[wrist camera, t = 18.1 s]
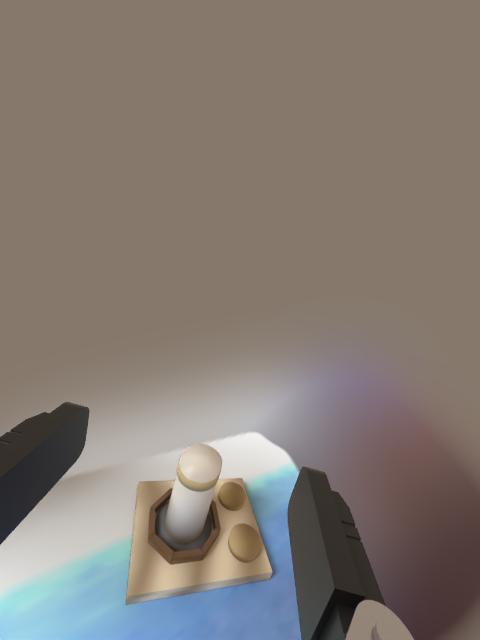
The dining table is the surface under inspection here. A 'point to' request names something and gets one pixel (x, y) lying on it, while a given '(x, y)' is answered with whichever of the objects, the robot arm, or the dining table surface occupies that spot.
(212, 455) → the cylinder
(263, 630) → the dining table surface
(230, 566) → the board
